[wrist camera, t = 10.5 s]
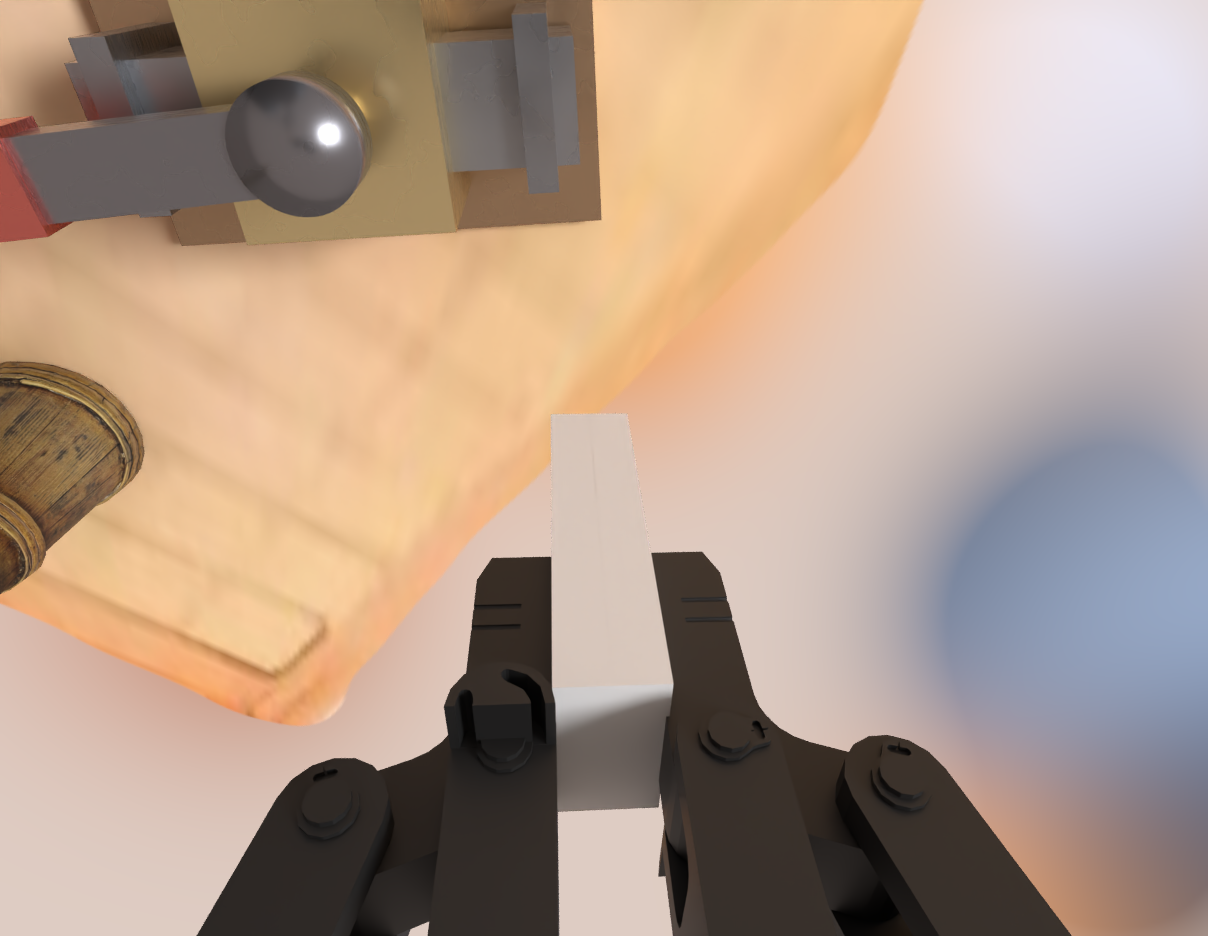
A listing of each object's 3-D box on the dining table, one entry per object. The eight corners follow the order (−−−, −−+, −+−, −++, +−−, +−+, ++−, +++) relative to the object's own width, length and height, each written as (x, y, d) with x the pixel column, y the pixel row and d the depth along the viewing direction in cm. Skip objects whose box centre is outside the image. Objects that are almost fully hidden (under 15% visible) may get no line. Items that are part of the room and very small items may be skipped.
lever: (352, 62, 23) (337, 72, 22) (387, 192, 26) (375, 210, 24) (-162, 124, 23) (-221, 139, 22) (-81, 248, 26) (-128, 270, 24)
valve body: (77, -66, 29) (-108, -71, 21) (586, -91, 29) (602, -105, 21) (190, 239, 36) (85, 325, 28) (600, 213, 36) (615, 291, 28)
